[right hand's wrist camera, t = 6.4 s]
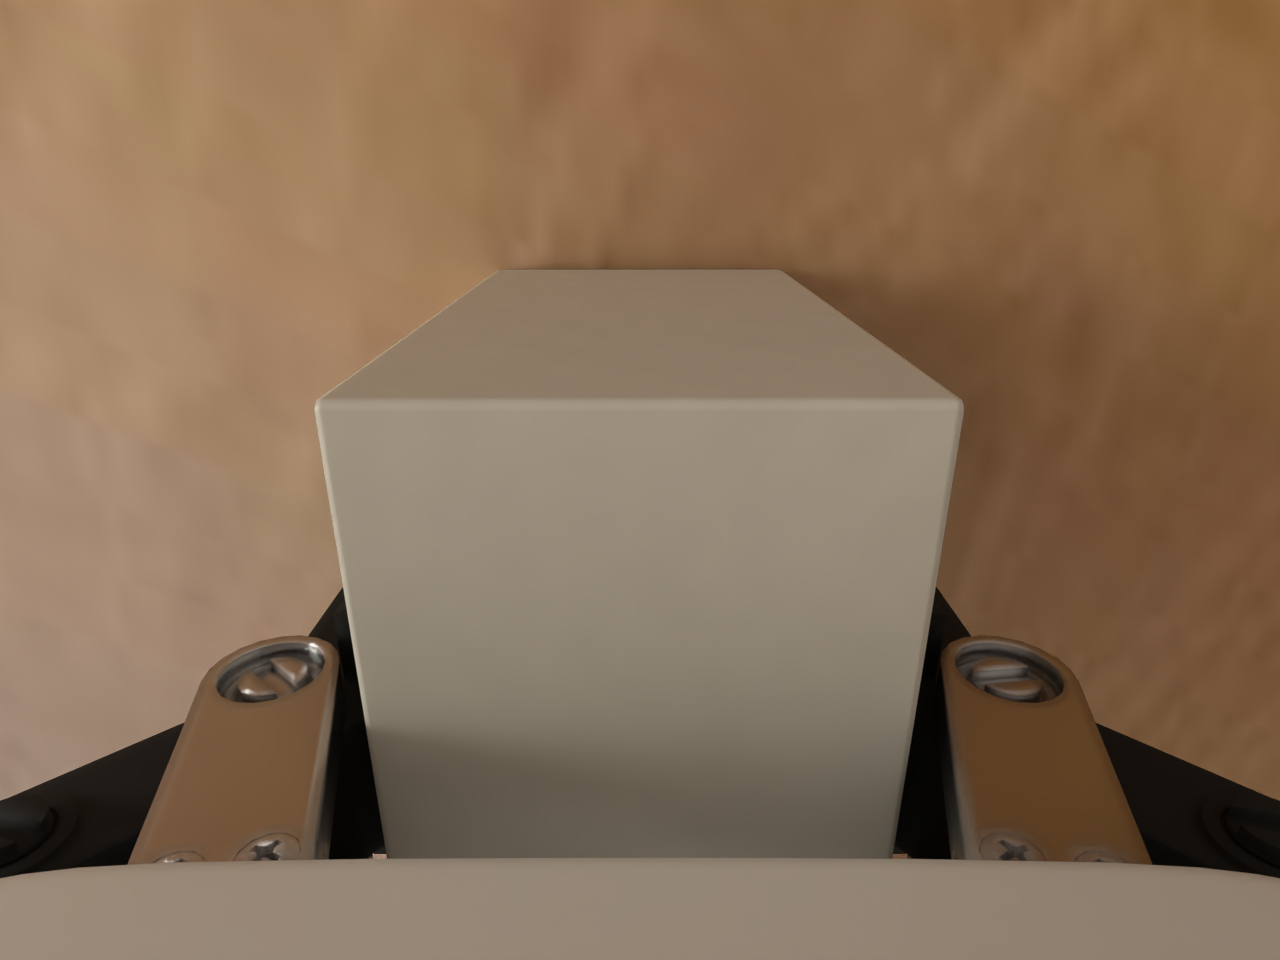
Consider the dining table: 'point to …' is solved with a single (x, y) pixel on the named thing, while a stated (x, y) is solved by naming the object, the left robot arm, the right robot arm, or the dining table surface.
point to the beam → (639, 568)
